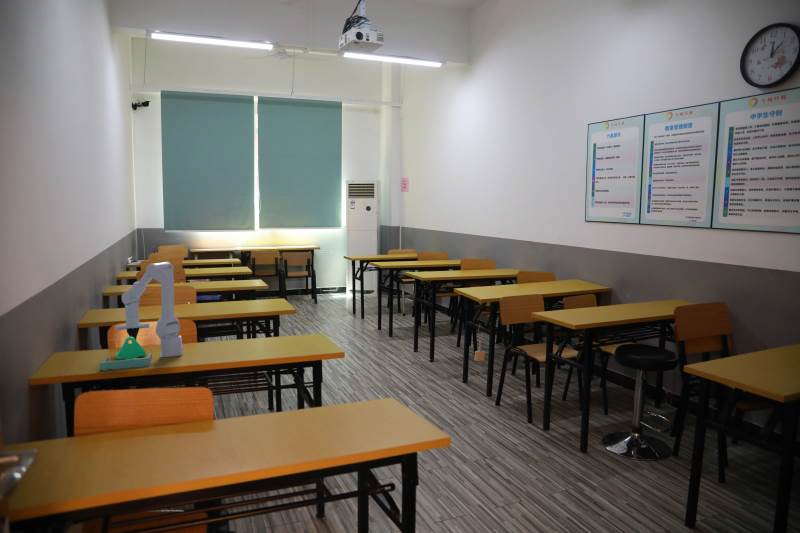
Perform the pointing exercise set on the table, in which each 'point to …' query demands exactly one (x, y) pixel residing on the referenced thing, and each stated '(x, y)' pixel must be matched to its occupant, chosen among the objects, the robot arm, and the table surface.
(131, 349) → the camera mount
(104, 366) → the dock
